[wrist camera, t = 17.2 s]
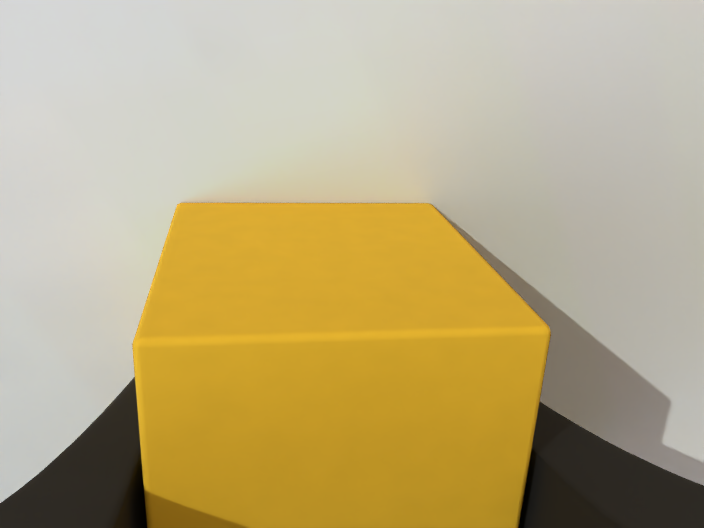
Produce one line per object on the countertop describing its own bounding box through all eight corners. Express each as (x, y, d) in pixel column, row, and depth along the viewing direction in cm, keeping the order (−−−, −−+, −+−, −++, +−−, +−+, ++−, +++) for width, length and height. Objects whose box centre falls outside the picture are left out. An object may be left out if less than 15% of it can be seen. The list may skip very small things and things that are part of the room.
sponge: (432, 202, 12) (555, 328, 7) (403, 519, 14) (481, 763, 10) (176, 201, 11) (129, 340, 6) (193, 534, 14) (167, 806, 9)
